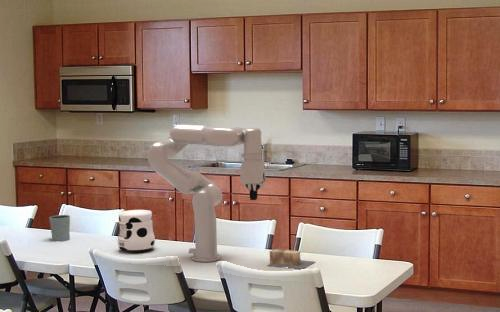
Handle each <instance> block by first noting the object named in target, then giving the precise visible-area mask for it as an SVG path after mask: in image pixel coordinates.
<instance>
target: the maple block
mask: <svg viewBox="0 0 500 312" xmlns="http://www.w3.org/2000/svg"><path fill="white" fill-rule="evenodd" d="M300 260H301V251H299V250H291V249H279V248H273V249H272V250H269V264H271V263H276V264H286V265H297V264H299V263H300Z"/></svg>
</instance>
